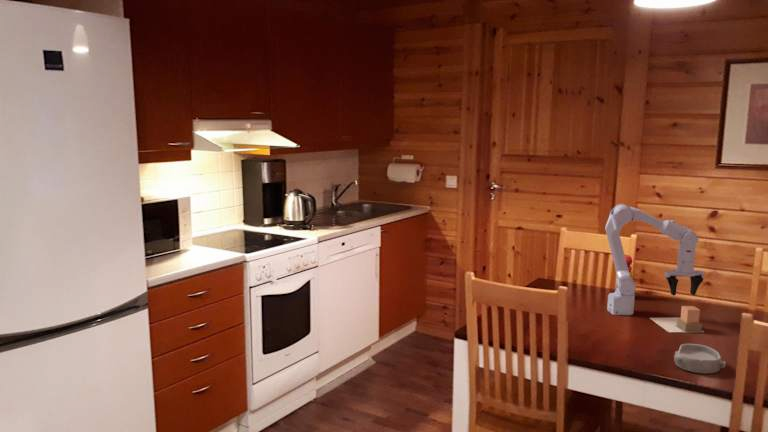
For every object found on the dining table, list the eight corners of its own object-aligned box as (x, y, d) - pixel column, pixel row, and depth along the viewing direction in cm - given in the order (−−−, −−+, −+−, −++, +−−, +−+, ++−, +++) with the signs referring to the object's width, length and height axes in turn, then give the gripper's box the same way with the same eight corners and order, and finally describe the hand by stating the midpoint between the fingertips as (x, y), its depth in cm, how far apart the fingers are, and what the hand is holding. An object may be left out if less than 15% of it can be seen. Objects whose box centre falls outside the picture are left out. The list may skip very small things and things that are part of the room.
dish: (674, 371, 182) (675, 356, 181) (670, 354, 195) (671, 340, 194) (727, 379, 177) (729, 363, 176) (719, 361, 190) (721, 346, 189)
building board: (669, 335, 211) (670, 324, 210) (649, 320, 226) (649, 310, 226) (704, 334, 211) (705, 324, 211) (682, 319, 227) (683, 310, 226)
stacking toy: (633, 295, 257) (636, 253, 254) (634, 300, 250) (638, 258, 247) (614, 293, 260) (617, 252, 257) (615, 298, 253) (618, 256, 249)
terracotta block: (686, 323, 212) (687, 310, 211) (680, 318, 216) (681, 306, 215) (698, 323, 212) (700, 309, 211) (692, 318, 216) (693, 305, 215)
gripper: (672, 263, 219) (669, 298, 222) (710, 262, 220) (707, 297, 222) (663, 258, 226) (660, 292, 229) (700, 258, 227) (697, 291, 229)
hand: (682, 294), depth 226 cm, fingers open, 7 cm apart
